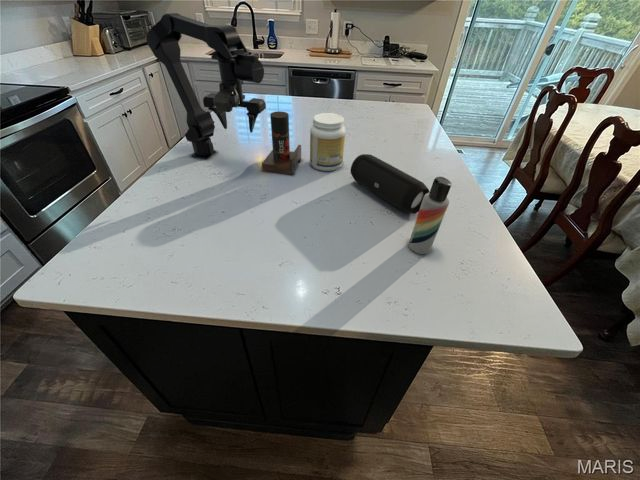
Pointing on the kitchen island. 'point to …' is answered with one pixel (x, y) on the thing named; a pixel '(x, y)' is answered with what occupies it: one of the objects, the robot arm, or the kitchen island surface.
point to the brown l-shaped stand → (282, 163)
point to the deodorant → (280, 135)
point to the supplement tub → (327, 141)
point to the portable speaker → (389, 183)
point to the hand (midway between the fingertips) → (238, 130)
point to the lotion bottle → (430, 216)
